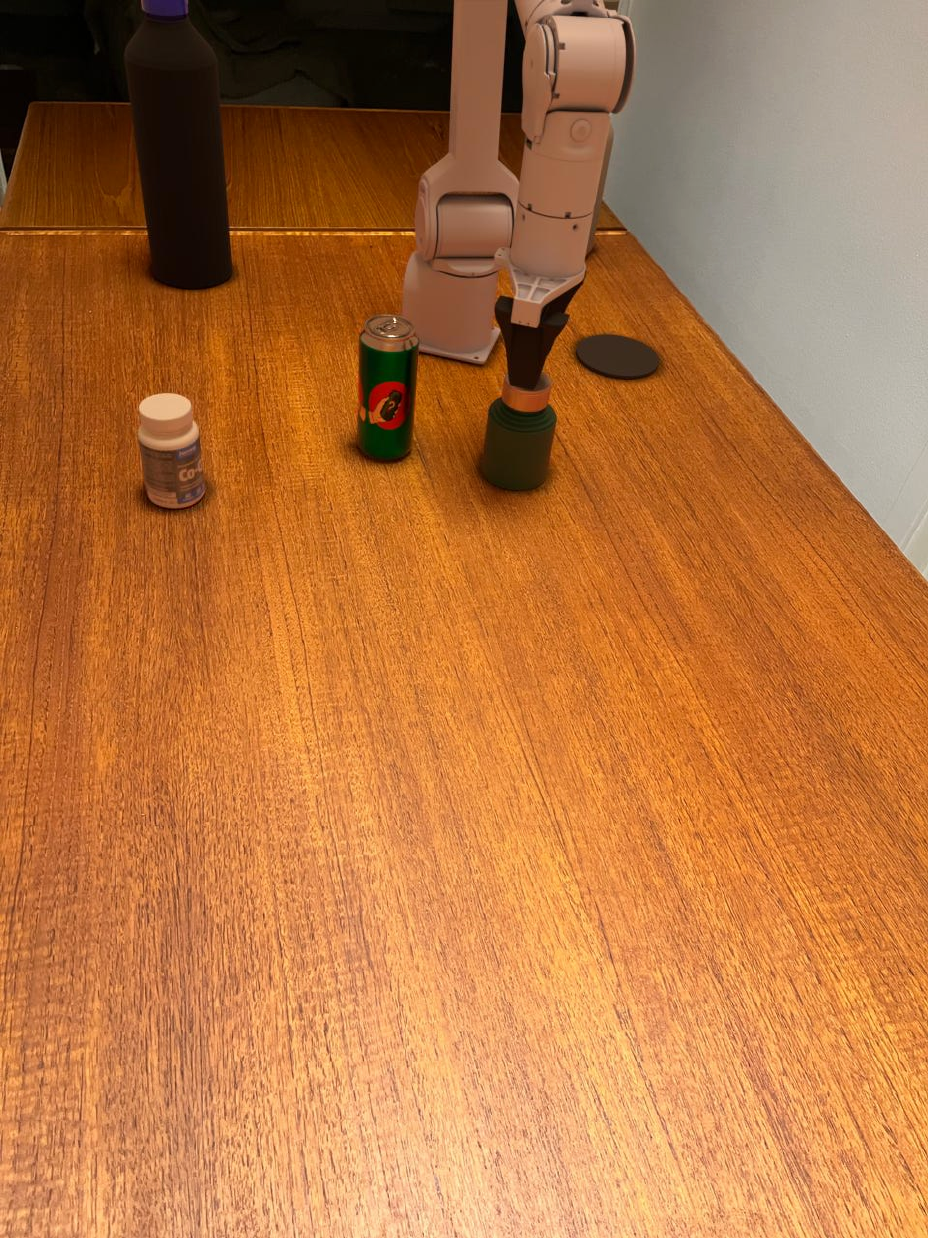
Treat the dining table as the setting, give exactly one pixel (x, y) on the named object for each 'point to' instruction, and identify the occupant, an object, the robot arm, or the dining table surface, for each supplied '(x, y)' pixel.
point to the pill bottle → (170, 451)
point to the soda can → (387, 386)
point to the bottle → (179, 147)
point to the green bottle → (517, 446)
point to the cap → (527, 395)
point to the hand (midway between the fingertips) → (529, 368)
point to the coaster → (617, 356)
